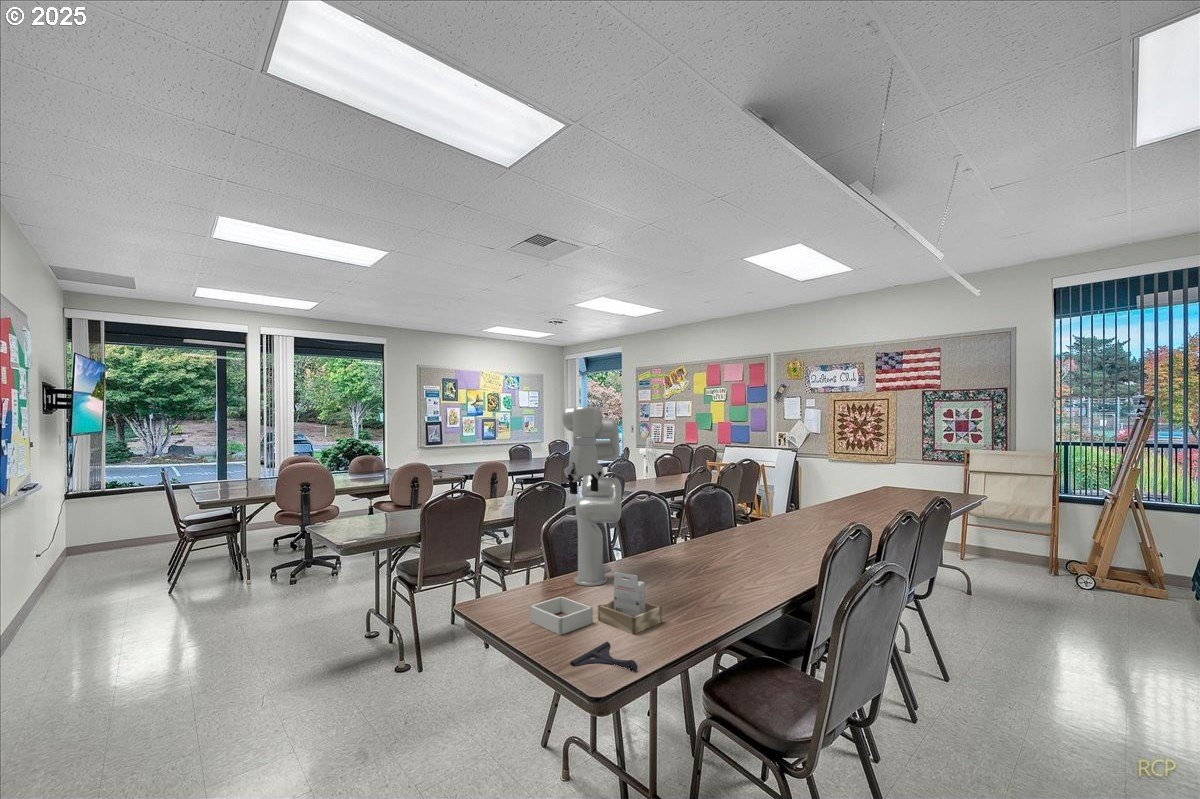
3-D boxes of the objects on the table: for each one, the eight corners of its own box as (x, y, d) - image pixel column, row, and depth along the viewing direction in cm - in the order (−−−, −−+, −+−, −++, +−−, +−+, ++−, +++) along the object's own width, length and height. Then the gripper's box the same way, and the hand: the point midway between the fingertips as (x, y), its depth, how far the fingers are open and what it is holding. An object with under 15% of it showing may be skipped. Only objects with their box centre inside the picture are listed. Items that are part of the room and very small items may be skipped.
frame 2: (626, 610, 163) (626, 595, 163) (662, 622, 152) (661, 607, 152) (598, 620, 154) (598, 605, 154) (634, 634, 143) (633, 618, 144)
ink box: (646, 621, 153) (645, 571, 154) (638, 626, 149) (638, 575, 150) (621, 616, 158) (621, 567, 158) (613, 621, 153) (613, 571, 154)
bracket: (618, 686, 116) (618, 673, 116) (569, 667, 125) (570, 655, 126) (652, 663, 128) (652, 652, 128) (605, 647, 137) (605, 637, 137)
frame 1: (561, 610, 162) (561, 596, 163) (592, 622, 152) (592, 607, 152) (529, 621, 154) (529, 606, 154) (560, 635, 143) (560, 618, 143)
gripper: (594, 441, 183) (594, 489, 183) (557, 442, 171) (557, 494, 170) (609, 442, 178) (609, 491, 177) (572, 443, 166) (572, 496, 165)
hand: (584, 492), depth 174 cm, fingers open, 9 cm apart
